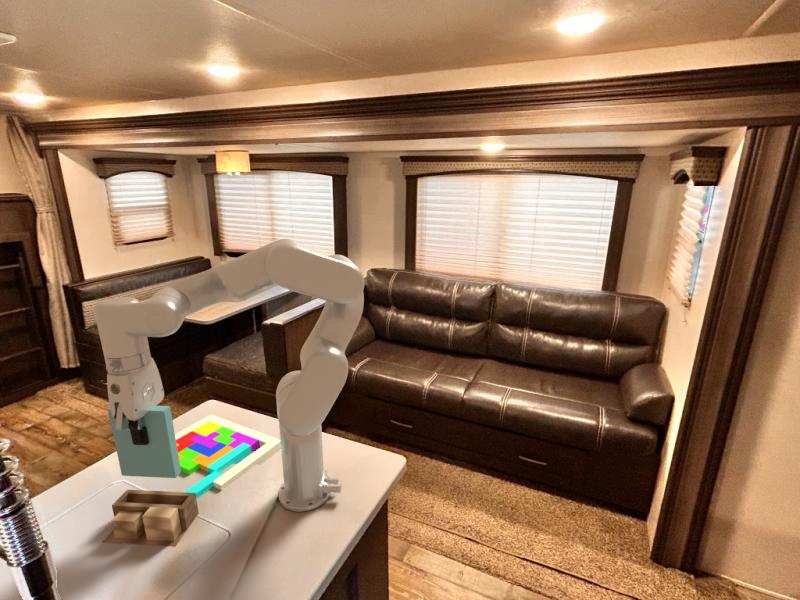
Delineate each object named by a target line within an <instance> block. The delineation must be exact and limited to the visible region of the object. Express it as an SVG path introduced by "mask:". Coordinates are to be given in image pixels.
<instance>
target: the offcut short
mask: <svg viewBox="0 0 800 600" xmlns="http://www.w3.org/2000/svg"><path fill="white" fill-rule="evenodd" d="M142 516H143V512H129V511H120V512H119V513H118V514H117V515H116V516H115V517H114V516H113V518H112V519H111V525H112V531H113V530H114V535H115V538H126V539H138V538H139V537H140V536H141V535H142V534H143V532H144V531H145V527H144V522H143V517H142Z"/></svg>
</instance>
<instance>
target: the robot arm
mask: <svg viewBox="0 0 800 600" xmlns="http://www.w3.org/2000/svg"><path fill="white" fill-rule="evenodd" d="M277 286H278V287H281V288H283V289H286V290H288V291H291V292H295V293H297V294H301V295H305V296H307V297H312V298H316V299H319V300H323V301H325V304H324V307H323V309H322V311H321V314H320V315H319V317H318V320H317V321H316V323H315V325H314V327H313V328H312V330H311V332H310V334H309V335H308V337H307V339H306V340H305V342H304V343H303V345H302V347H301V350H300V351H299V352H300V353H299V359H300V364H301V365H300V366H301V370H294V371H290V372H288V373H286V374H285V375H284V376H282V378H281V379H280V381H279V382H278V384H277V388H276V393H275V399H276V400H275V401H276V413H277V420H278V426H279V437H280V440H281V450H280V451H281V462H282V463H281V464H282V473H283V474H282V475H283V483H282V485H280V488H279V489H278V494H277V495H278V496H277V497H278V502H279V503H280V505H281V506H282V507H283V508H284V509H287V510H288V511H291V512H308V511H310V510H314V509H317V508H318V507H320V506H322V505H323V504H324V503H325V502H326V501H327V500H328V499H329V498H330V496H331V494H332V493H337V494H339V493H340V494H341V493H342V487H343V484H342V483H339V482H340V478H339V477H330V476H328V470H325V468H324V454H323V453H324V451H323V450H324V449H323V431H322V423H323V422H324V421H325V419H326V417H327V416H328V414H329V412H330V411H331V409H332V407H333V405H334V404H335V402H336V400H337V398H338V396H339V394H340V393H341V392H342V390H343V388H344V386H345V384H346V381H347V379H348V375H349V361H348V359H347V356H346V354H345V353H346V350H347V348H348V345H349V343H350V341H351V339H352V337H353V336H354V333H355V332H356V330H357V328H358V325H359V323H360V321H361V318H362V315H363V313H364V307H365V306H364V304H365V303H364V302H365V297H364V294H365V293H364V290H365V289H364V288H365V278H364V274H363V272H362V271H361V269H360V268H359V267H358V266H357V265H356V264H355V263H354V262H353V261H352V260H351V259H350V258H348V257H347V256H345V255H342V254H332V255H329V256H326V255H322V254H320V253H316V252H314V251H311V250H308V249H306V248H303V246H302V244H301V243H298V242H297V241H295V240H293V239H291V238H281V239H278V240H275V241H273V242H269V243H267V244H265V245H263V246H260V247H258V248H256V249H253V250H251V251H249V252H247V253H245V254H243V255H240V256H238V257H235V258H233V259H231V260H229V261H226V262H224V263H221V264H218V265H216V266H213V267H211V268H209V269H207V270H204V271H201V272H198V273H196V274H193V275H191V276H189V277H186V278H184V279H182V280H180V281H178V282H175V283H172V284H170V285H168V286H165V287H163V288H162V289H160V290H158V291H156V292H155V293H154V294H152V296H150V298H148V299H146V300H143V301H139V300H138V299H137V298H135V297H133V296H132V297H130V296H119V297H113V298H108V299H104V300H102V301H100V302H98V303H97V304H96V305H94V306H95V307H94V315H95V316H94V317H95V321H96V326H97V331H98V334H99V339H100V343H101V348H102V352H103V357H104V363H105V366H106V367H105V370H106V372H107V374H106V382H107V383H106V385H107V394H108V395H107V396H108V403H109V408H110V409H111V413H112V416H113V418H114V419H115V420H116V429H130V432H131V437H132V442H133V444H134V445H148V444H149V439H148V434H147V429H146V427H143V421H142V417H143V416H144V415H145V414H147V413H148V412H149V410H150V409H151V408H153V407H154V406H158V405H159V404H160V403H161V402H162V401H163V400H164V397H165V390H164V387H163V382H162V378H161V375H160V372H159V369H158V367H157V363H156V362H155V360H154V358H153V357H152V355H151V351H150V346H149V340H148V338H151V337H152V338H164V337H169V336H170V335H173V334H174V333H176V332H177V331H178V330H179V329H180V328H181V326H182V324H183V322H184V321H185V319H186V318H187V317H188V316H190V315H192V314H195V313H197V312H199V311H202V310H203V309H206V308H208V307H210V306H213V305H216V304H220V303H242V302H245V301H247V300H249V299H251V298H253V297H256V296H258V295H260V294H262V293H264V292H266V291H268V290H271V289H273V288H275V287H277ZM132 420H133V421H132ZM134 421H136V422H134Z"/></svg>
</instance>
